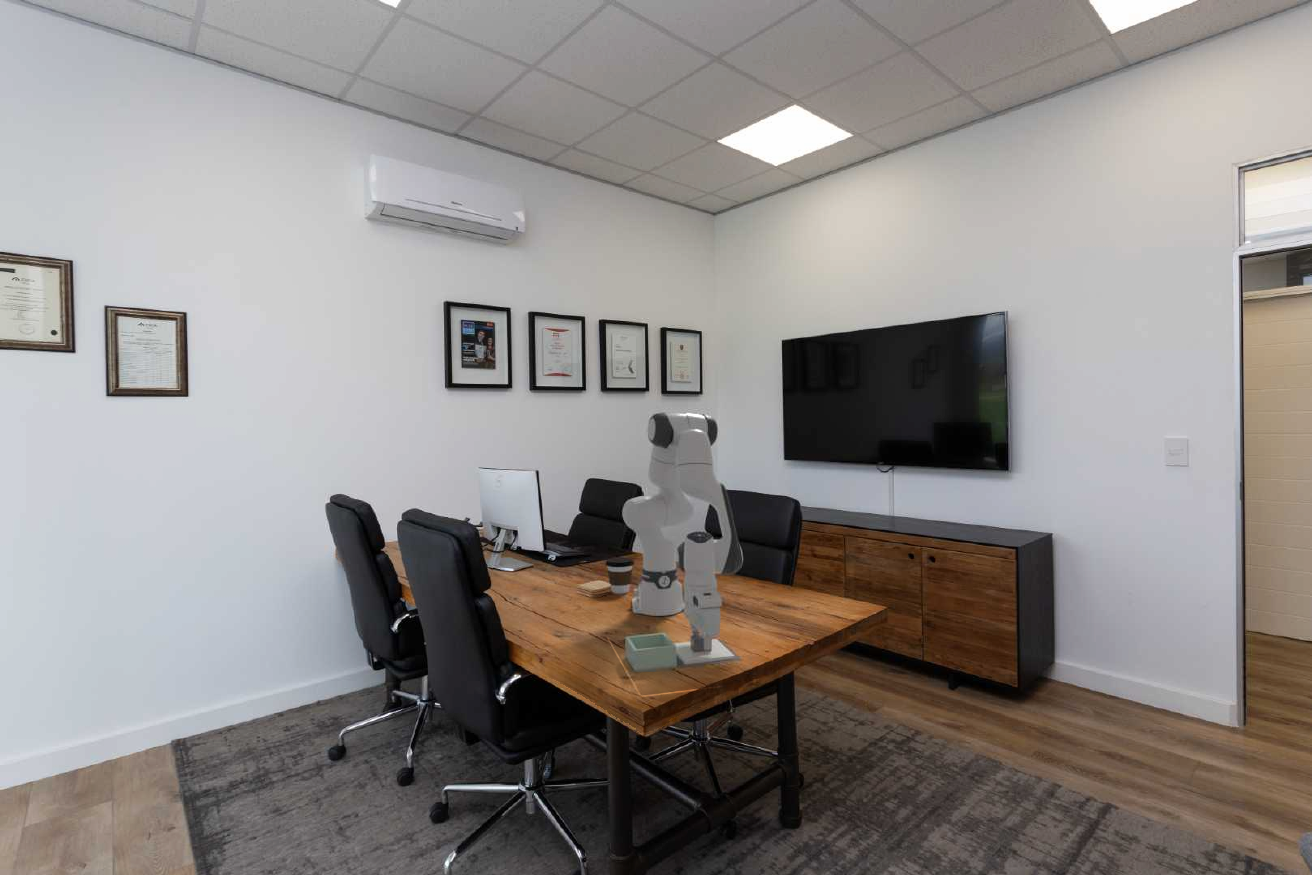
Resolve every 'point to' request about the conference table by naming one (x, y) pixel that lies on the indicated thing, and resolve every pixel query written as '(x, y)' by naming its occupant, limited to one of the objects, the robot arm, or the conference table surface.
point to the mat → (711, 661)
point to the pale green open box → (650, 652)
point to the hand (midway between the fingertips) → (701, 643)
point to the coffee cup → (620, 573)
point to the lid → (701, 651)
